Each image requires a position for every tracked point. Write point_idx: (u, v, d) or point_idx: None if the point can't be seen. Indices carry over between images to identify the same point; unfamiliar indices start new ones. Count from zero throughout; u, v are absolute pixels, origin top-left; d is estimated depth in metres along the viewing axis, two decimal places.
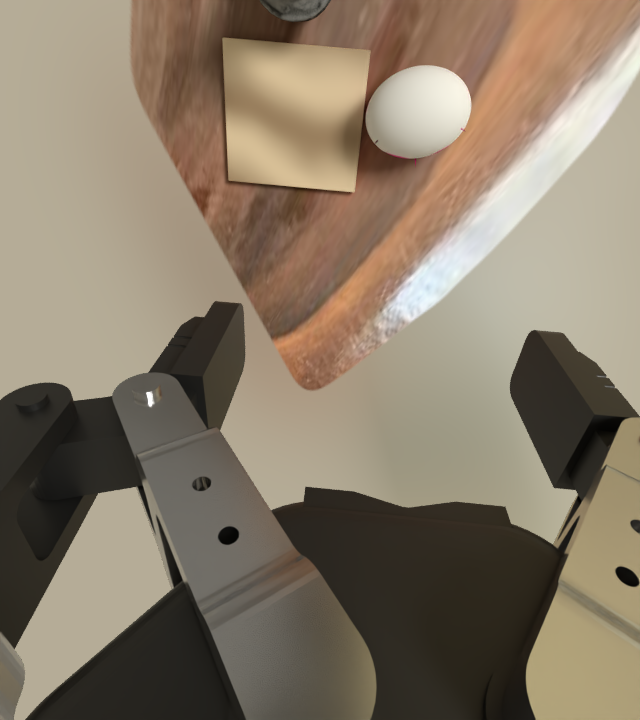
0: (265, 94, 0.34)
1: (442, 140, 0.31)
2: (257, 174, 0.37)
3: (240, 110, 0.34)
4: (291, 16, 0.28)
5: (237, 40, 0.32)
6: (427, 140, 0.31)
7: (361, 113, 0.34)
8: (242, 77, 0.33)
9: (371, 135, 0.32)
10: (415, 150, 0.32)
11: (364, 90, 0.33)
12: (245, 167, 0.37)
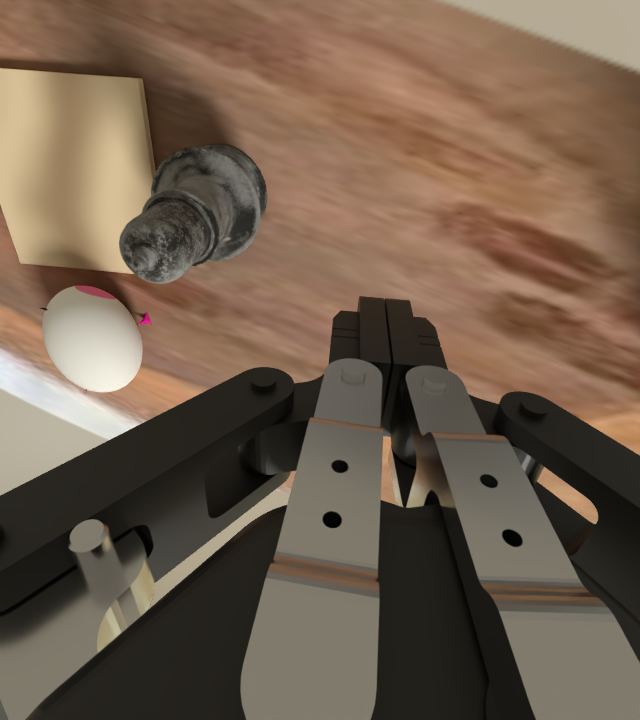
0: (89, 142, 0.24)
1: (67, 377, 0.29)
2: None
3: (57, 98, 0.23)
4: None
5: (139, 103, 0.23)
6: (58, 367, 0.28)
7: (106, 269, 0.29)
8: (99, 107, 0.23)
9: (52, 300, 0.27)
10: (48, 352, 0.28)
11: (129, 271, 0.29)
12: None
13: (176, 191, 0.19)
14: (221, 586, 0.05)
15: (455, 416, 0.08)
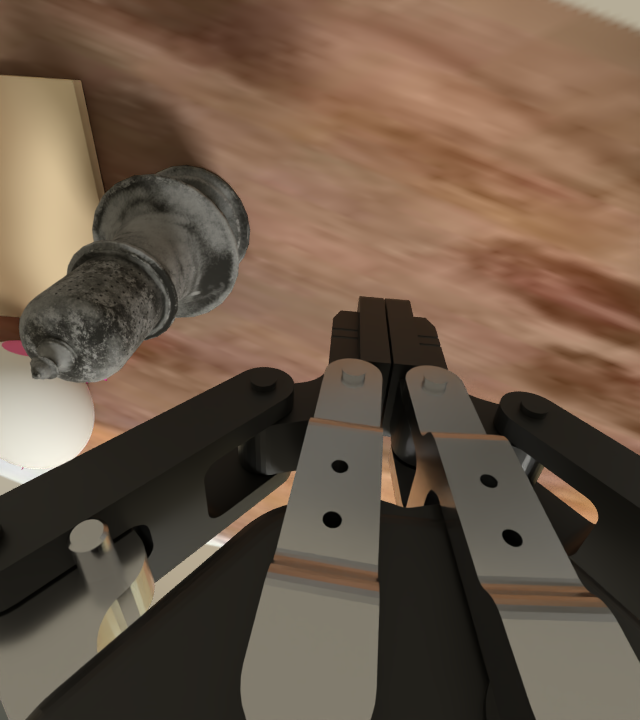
0: (15, 163, 0.19)
1: None
2: None
3: None
4: None
5: (77, 113, 0.17)
6: None
7: None
8: (24, 118, 0.18)
9: None
10: None
11: None
12: None
13: (112, 244, 0.13)
14: (221, 586, 0.05)
15: (455, 416, 0.08)
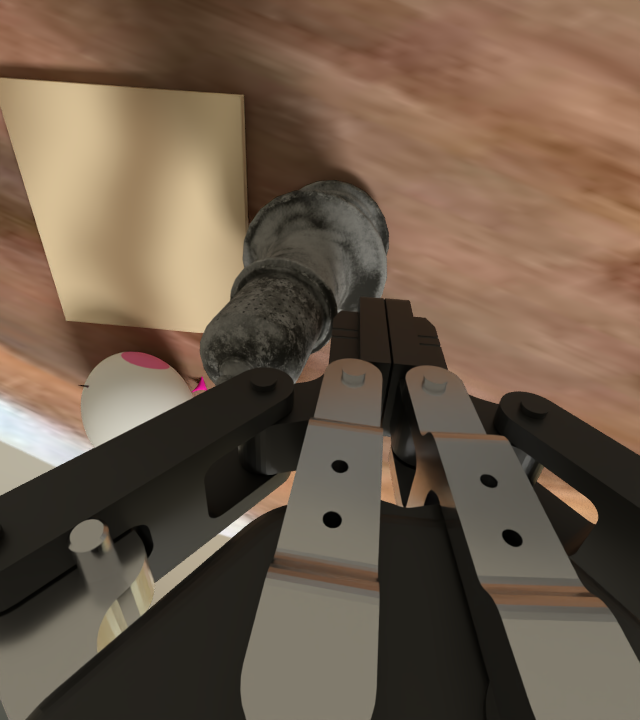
0: (167, 176, 0.19)
1: None
2: (29, 149, 0.19)
3: (129, 121, 0.18)
4: (247, 259, 0.17)
5: (239, 128, 0.17)
6: None
7: (174, 327, 0.23)
8: (184, 132, 0.18)
9: (95, 374, 0.21)
10: None
11: (202, 331, 0.23)
12: (33, 123, 0.18)
13: (284, 261, 0.13)
14: (221, 586, 0.05)
15: (455, 416, 0.08)
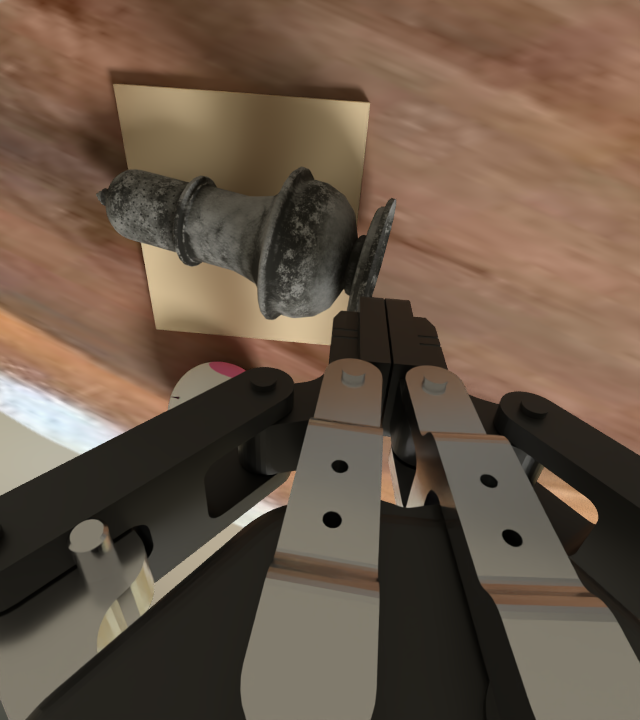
0: (281, 185, 0.18)
1: None
2: (142, 156, 0.18)
3: (250, 128, 0.17)
4: None
5: (363, 135, 0.17)
6: None
7: (266, 336, 0.23)
8: (306, 140, 0.17)
9: (185, 385, 0.21)
10: None
11: (296, 340, 0.23)
12: (150, 131, 0.18)
13: None
14: (221, 586, 0.05)
15: (455, 416, 0.08)
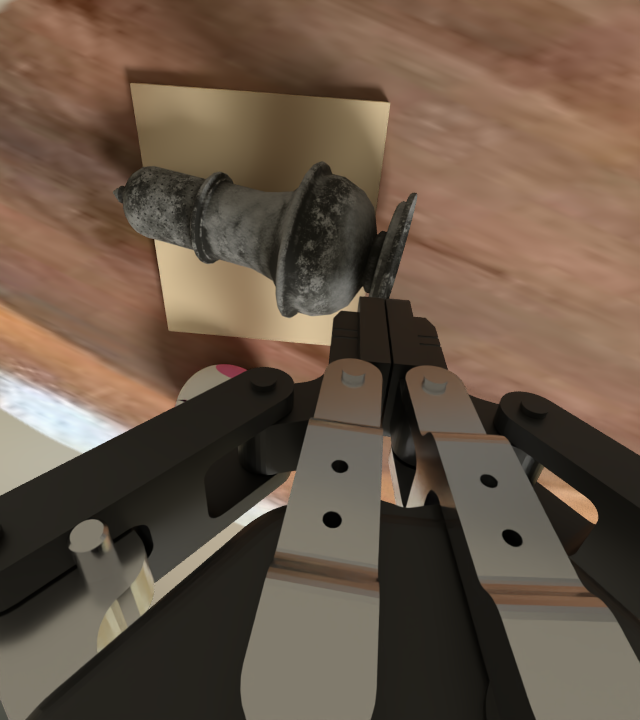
0: (298, 185, 0.18)
1: None
2: (158, 156, 0.18)
3: (268, 128, 0.17)
4: None
5: (383, 136, 0.17)
6: None
7: (280, 338, 0.22)
8: (324, 140, 0.17)
9: (192, 388, 0.21)
10: None
11: (310, 341, 0.22)
12: (166, 131, 0.17)
13: None
14: (221, 586, 0.05)
15: (455, 416, 0.08)
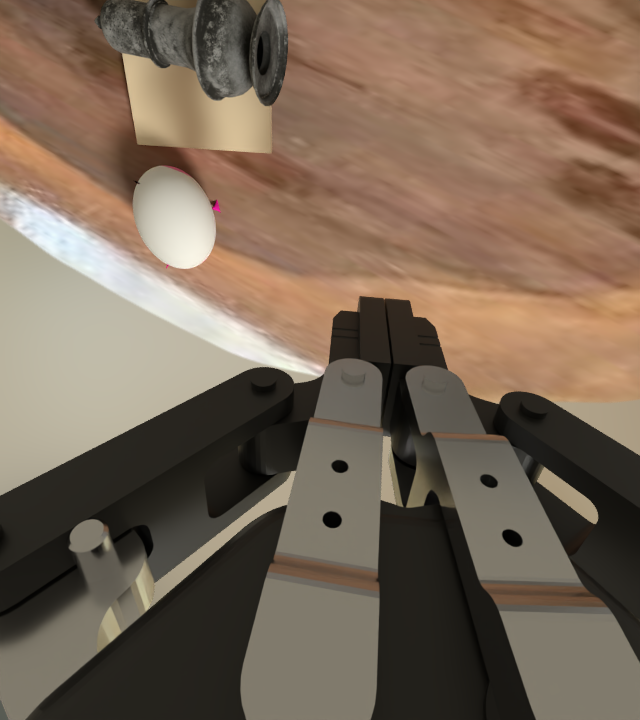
0: None
1: (152, 251, 0.32)
2: None
3: None
4: None
5: None
6: (147, 237, 0.31)
7: (216, 147, 0.32)
8: None
9: (144, 175, 0.31)
10: (138, 225, 0.31)
11: (237, 149, 0.32)
12: None
13: None
14: (221, 586, 0.05)
15: (455, 416, 0.08)
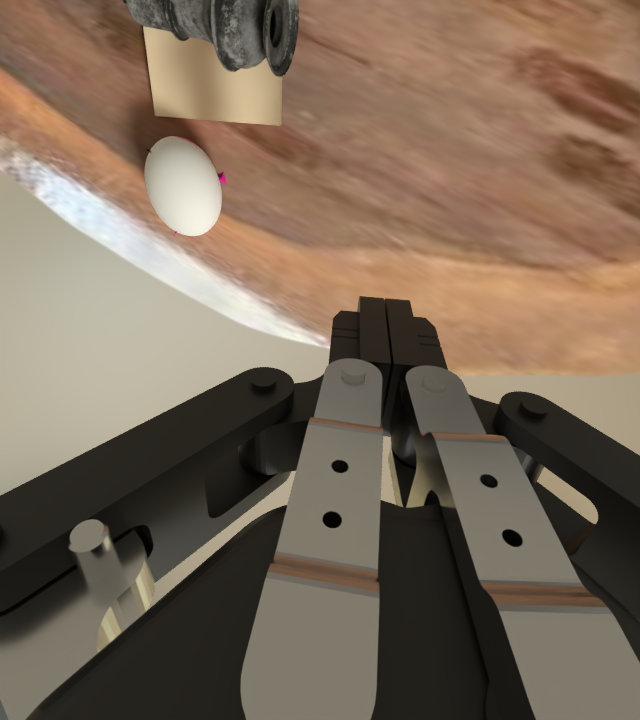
0: None
1: (162, 217, 0.34)
2: None
3: None
4: None
5: None
6: (158, 204, 0.33)
7: (229, 119, 0.34)
8: None
9: (155, 144, 0.33)
10: (149, 192, 0.34)
11: (248, 121, 0.34)
12: None
13: None
14: (221, 586, 0.05)
15: (455, 416, 0.08)
